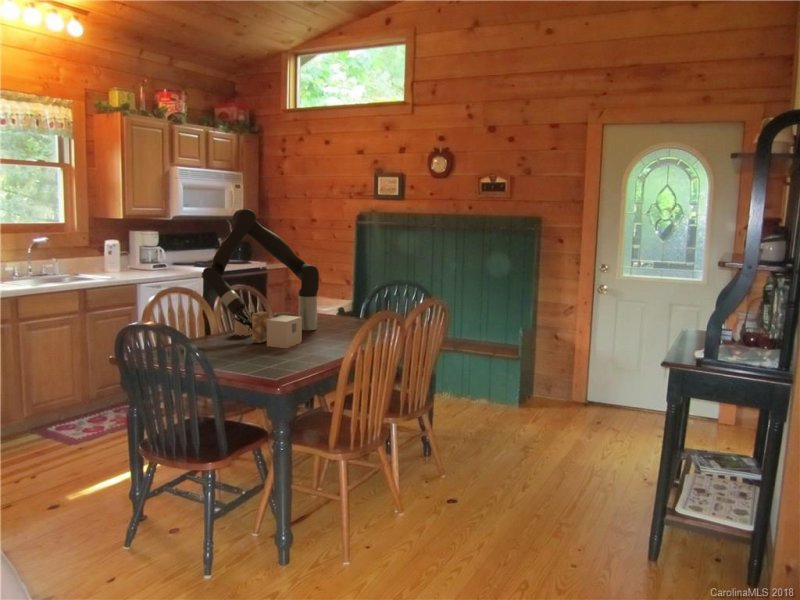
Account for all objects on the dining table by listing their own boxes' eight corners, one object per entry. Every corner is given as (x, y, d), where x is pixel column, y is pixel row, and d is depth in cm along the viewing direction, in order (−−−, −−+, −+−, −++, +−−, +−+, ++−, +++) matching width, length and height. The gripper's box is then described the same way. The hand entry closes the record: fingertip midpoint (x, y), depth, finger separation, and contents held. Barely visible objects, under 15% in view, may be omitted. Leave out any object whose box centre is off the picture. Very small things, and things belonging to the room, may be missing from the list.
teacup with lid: (251, 336, 314) (251, 312, 312) (232, 336, 313) (232, 312, 312) (256, 331, 326) (255, 308, 324) (237, 331, 325) (237, 308, 324)
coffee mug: (296, 332, 327) (296, 312, 325) (291, 336, 317) (291, 315, 316) (270, 331, 328) (270, 311, 327) (264, 335, 318) (264, 314, 317)
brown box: (252, 342, 299) (252, 314, 297) (261, 338, 307) (261, 311, 305) (282, 345, 294) (282, 316, 292) (290, 341, 302) (290, 314, 300)
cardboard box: (266, 346, 293) (266, 319, 292) (282, 340, 306) (282, 315, 305) (286, 348, 290) (286, 321, 288) (301, 342, 303) (301, 317, 301)
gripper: (229, 298, 297) (253, 327, 295) (245, 295, 310) (268, 322, 307) (219, 309, 300) (243, 337, 298) (236, 305, 312) (258, 332, 310)
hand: (256, 330), depth 302 cm, fingers closed
